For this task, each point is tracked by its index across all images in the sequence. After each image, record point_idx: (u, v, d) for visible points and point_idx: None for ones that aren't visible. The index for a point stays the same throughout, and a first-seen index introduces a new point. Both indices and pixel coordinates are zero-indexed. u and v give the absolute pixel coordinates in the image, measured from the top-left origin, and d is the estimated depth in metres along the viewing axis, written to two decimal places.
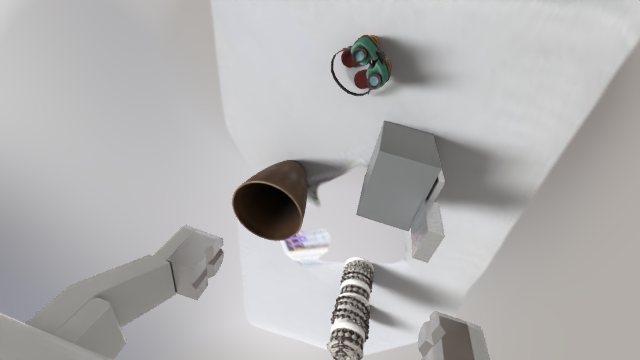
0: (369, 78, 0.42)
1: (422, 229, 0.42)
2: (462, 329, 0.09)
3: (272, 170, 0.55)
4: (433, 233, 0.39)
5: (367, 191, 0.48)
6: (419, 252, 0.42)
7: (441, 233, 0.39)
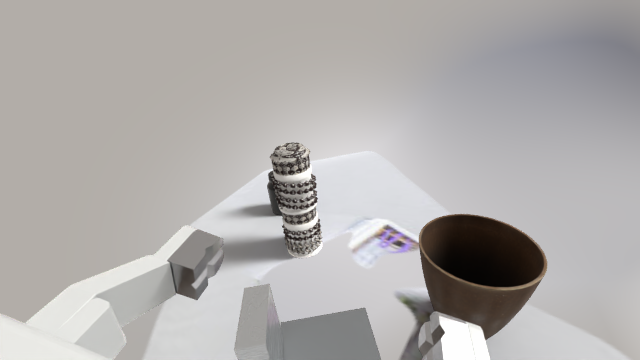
0: None
1: (271, 340, 0.23)
2: (462, 329, 0.09)
3: (516, 311, 0.34)
4: (254, 343, 0.21)
5: (375, 358, 0.27)
6: (262, 297, 0.25)
7: (241, 351, 0.21)
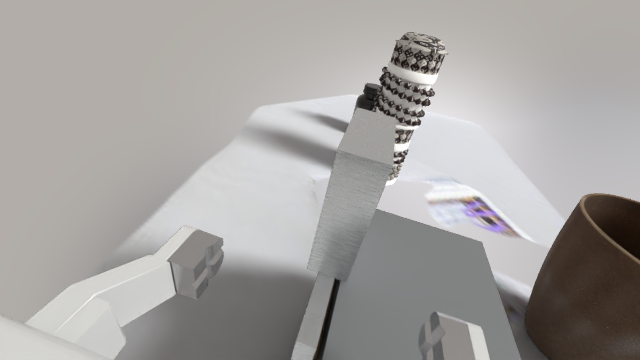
0: None
1: None
2: (462, 329, 0.09)
3: None
4: (373, 157, 0.11)
5: (496, 307, 0.17)
6: (385, 124, 0.15)
7: (346, 159, 0.12)
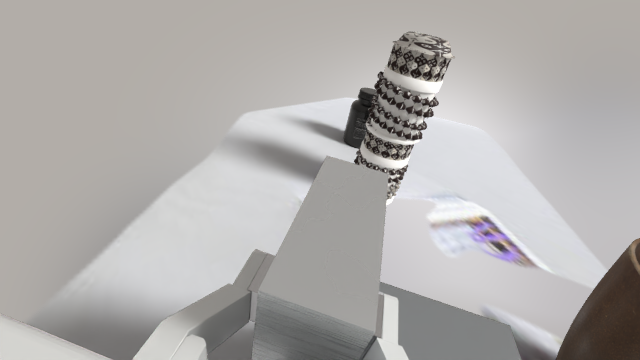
0: None
1: None
2: None
3: None
4: (336, 306, 0.05)
5: None
6: (370, 192, 0.09)
7: (278, 307, 0.06)
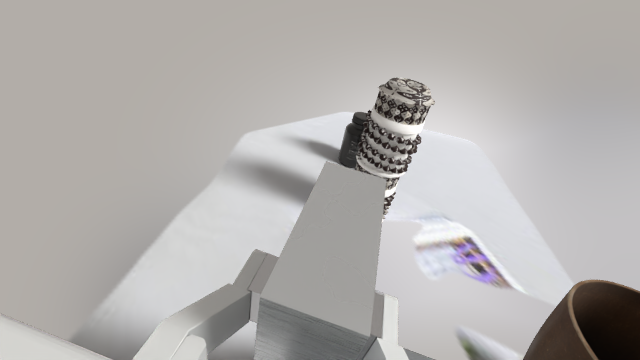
0: None
1: None
2: (378, 300, 0.09)
3: None
4: (332, 312, 0.06)
5: None
6: (368, 198, 0.09)
7: (279, 312, 0.06)
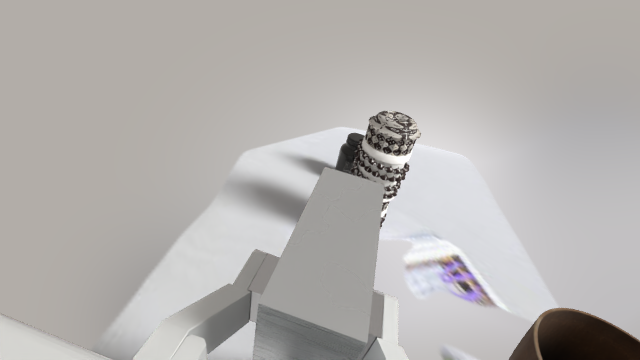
0: None
1: None
2: (377, 300, 0.09)
3: None
4: (330, 318, 0.06)
5: None
6: (366, 204, 0.09)
7: (277, 319, 0.06)
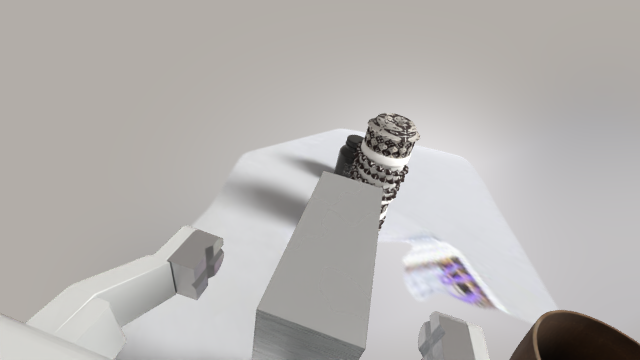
0: None
1: None
2: (462, 329, 0.09)
3: None
4: (328, 324, 0.06)
5: None
6: (364, 208, 0.09)
7: (276, 324, 0.06)
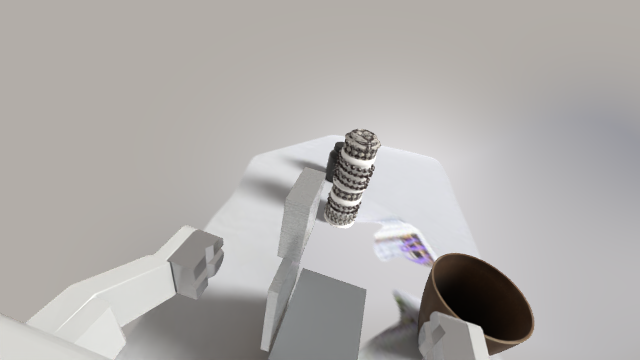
0: None
1: (312, 212, 0.27)
2: (462, 329, 0.09)
3: None
4: (302, 202, 0.25)
5: (358, 326, 0.36)
6: (318, 178, 0.28)
7: (290, 203, 0.25)
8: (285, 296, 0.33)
